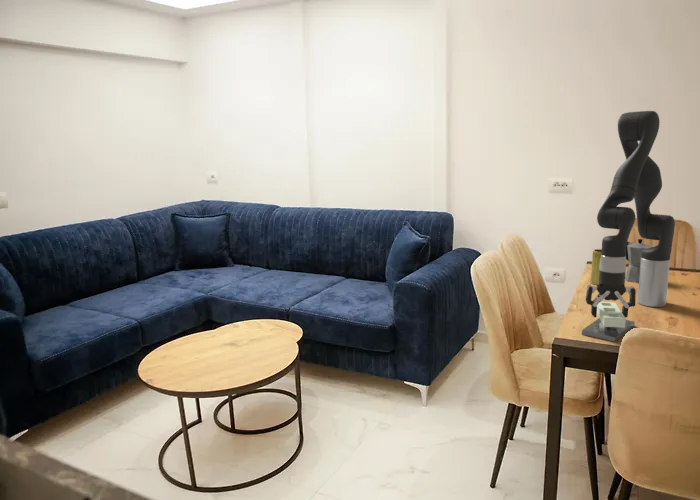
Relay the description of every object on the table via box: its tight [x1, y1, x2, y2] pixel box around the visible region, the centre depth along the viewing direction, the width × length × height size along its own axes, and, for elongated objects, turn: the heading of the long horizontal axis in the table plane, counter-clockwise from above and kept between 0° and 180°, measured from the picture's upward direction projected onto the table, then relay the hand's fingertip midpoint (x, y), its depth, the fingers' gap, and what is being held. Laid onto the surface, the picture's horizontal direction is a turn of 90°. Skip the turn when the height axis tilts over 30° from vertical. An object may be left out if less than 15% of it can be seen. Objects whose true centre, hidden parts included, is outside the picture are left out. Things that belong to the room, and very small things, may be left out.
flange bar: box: [597, 301, 627, 328], centre depth 171 cm, size 16×6×3 cm, turn 165°
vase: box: [589, 248, 602, 286], centre depth 223 cm, size 6×6×14 cm
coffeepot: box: [625, 238, 653, 284], centre depth 226 cm, size 15×9×18 cm, turn 13°
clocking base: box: [581, 317, 636, 343], centre depth 172 cm, size 18×10×6 cm, turn 135°
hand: (609, 317), depth 171 cm, fingers open, 8 cm apart
